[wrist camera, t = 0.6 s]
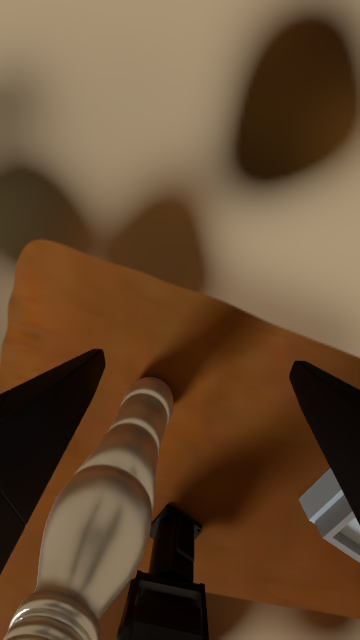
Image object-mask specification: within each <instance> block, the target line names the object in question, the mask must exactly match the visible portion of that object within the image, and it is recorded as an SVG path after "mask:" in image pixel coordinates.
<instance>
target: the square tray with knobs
mask: <svg viewBox="0 0 360 640" xmlns="http://www.w3.org/2000/svg"><path fill="white" fill-rule="evenodd" d="M299 501H300V503H301V505H302V507H303V509H304V511H305V513H306V515H307V517H308V519H309V520H310V521H311V522H313V523H314V524H316V526H317V528H318V530H319V532H320V534H321V536H322V538H323V539H325V540H326V541H328V542H329V543H331V544H333V545H334V546H336V547H337V548H339V549H340V550H342V551H343V552H345V553H346V554H348V555H349V556H351V557H352V558H354V559H355V560H357V561H358V562H360V525H359V523H358V521H357V519H356V517H355V515H354V513H353V511H352V509H351V507H350V505H349V503H348V501H347V499H346V497H345V495H344V493H343V491H342V489H341V487H340V485H339V483H338V482H337V480H336V478H335V476H334V474H333V472H332V470H331V468H329V469H328V470H327V471H326V472H325V473H324V474H323V475H322V476H321V477H320V478H319V479H318V480H317V481H316V482H315V483H314V484H313V485H312V486H311V487H310V488H309V489H308V490H307V491H306V492H305V493H304V494H303V495H302V496H301V497H300V498H299Z"/></svg>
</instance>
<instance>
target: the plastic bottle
mask: <svg viewBox="0 0 360 640" xmlns="http://www.w3.org/2000/svg"><path fill="white" fill-rule="evenodd" d="M172 413H173V395H172V392H171V390H170V388H169V387H168V385H167V384H166V383H165V382H163V381H162V380H160V379H158V378H155V377H144V378H141V379H139V380H138V381H136V382H135V383H134V384H133V385H131V386H130V388H129V389H128V390H127V392H126V393H125V396H124V398H123V401H122V403H121V407H120V409H119V412H118V414H117V416H116V418H115V420H114V422H113V424H112V426H111V427H110V429H109V430H108V432H107V433H106V434H105V436H104V437H103V439H102V440H101V442H100V443H99V445H98V446H97V447H96V449H95V450H94V451H93V452H92V453H91V455H90V456H89V457H88V458H87V459H86V461H85V462H84V463H83V464H82V465H81V467H80V468H79V469H78V470H77V471H76V473H75V474H74V475H73V476H72V478H71V479H70V480H69V481H68V482H67V484H66V485H65V486H64V488H63V489H62V490H61V492H60V493H59V495H58V496H57V498H56V499H55V501H54V504H53V506H52V509H51V511H50V514H49V516H48V519H47V522H46V525H45V529H44V534H43V540H42V545H41V550H40V559H39V569H38V579H37V587H36V589H35V592H34V593H32V594H30V595H28V596H27V597H26V598H25V599H24V600H23V601H22V603H21V604H20V606H19V608H18V610H17V611H16V613H15V615H14V617H13V618H12V620H11V622H10V626H9V631H8V632H7V634H6V636H5V638H4V640H100V637H101V628H100V625H99V620H100V617H101V615H102V614H103V613H104V612H105V610H106V609H107V608H108V607H109V605H110V604H111V603H112V602H113V601H114V599H115V598H116V597H117V596H118V594H119V593H120V592H121V591H122V589H123V588H124V587H125V585H126V584H127V582H128V581H129V579H130V578H131V576H132V575H133V574H134V572H135V571H136V569H137V568H138V565H139V563H140V561H141V559H142V556H143V554H144V551H145V549H146V546H147V544H148V541H149V536H150V530H151V522H152V511H153V500H154V486H155V473H156V467H157V461H158V455H159V449H160V445H161V442H162V439H163V435H164V432H165V429H166V427H167V425H168V423H169V421H170V418H171V416H172Z"/></svg>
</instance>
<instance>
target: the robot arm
mask: <svg viewBox="0 0 360 640" xmlns="http://www.w3.org/2000/svg"><path fill="white" fill-rule="evenodd" d="M104 369H105V358H104V352H103V350H102V349H92V350H90V351H88V352H86V353H84V354H82V355H80V356H77V357H75V358H73V359H71V360H69V361H67V362H65V363H63V364H61V365H59V366H57V367H55V368H53V369H51V370H49V371H47V372H45V373H43V374H41V375H38V376H36V377H34V378H32V379H30V380H28V381H26V382H24V383H22V384H20V385H18V386H16V387H14V388H12V389H11V390H8V391H6V392H3V393H1V394H0V574H1V572H2V571H3V569H4V567H5V565H6V563H7V561H8V559H9V557H10V555H11V553H12V551H13V550H14V548H15V546H16V544H17V542H18V540H19V538H20V536H21V534H22V532H23V531H24V529H25V525H26V524H27V523H28V521H29V519H30V517H31V515H32V513H33V511H34V509H35V507H36V505H37V503H38V502H39V500H40V498H41V496H42V494H43V492H44V490H45V488H46V486H47V484H48V483H49V481H50V479H51V477H52V475H53V473H54V471H55V469H56V467H57V465H58V463H59V462H60V460H61V458H62V456H63V454H64V452H65V450H66V448H67V446H68V444H69V442H70V441H71V439H72V437H73V435H74V433H75V431H76V429H77V427H78V425H79V423H80V422H81V420H82V418H83V416H84V414H85V412H86V410H87V408H88V406H89V404H90V402H91V401H92V398H93V396H94V394H95V392H96V389H97V387H98V384H99V382H100V379H101V377H102V374H103V371H104ZM289 378H290V381H291V384H292V386H293V389H294V392H295V394H296V397H297V399H298V402H299V405H300V407H301V410H302V412H303V414H304V416H305V418H306V420H307V422H308V424H309V426H310V428H311V430H312V432H313V434H314V436H315V438H316V440H317V442H318V444H319V446H320V448H321V450H322V452H323V454H324V456H325V458H326V460H327V462H328V464H329V466H330V468H331V470H332V472H333V474H334V476H335V478H336V480H337V482H338V483H339V485H340V487H341V489H342V491H343V493H344V495H345V497H346V499H347V501H348V503H349V505H350V507H351V509H352V511H353V513H354V515H355V517H356V519H357V521H358V523H359V525H360V390H359V389H357V388H355V387H353V386H352V385H350V384H348V383H346V382H344V381H342V380H340V379H338V378H337V377H335V376H333V375H331V374H329V373H327V372H325V371H323V370H322V369H320V368H318V367H316V366H314V365H312V364H310V363H308V362H306V361H298V360H297V361H295V362H294V363H293V366H292V369H291V372H290V375H289ZM201 532H202V526H201V525H199V524H198V523H196V522H195V521H193V520H192V519H190V518H189V517H187V516H186V515H184V514H183V513H181V512H180V511H178V510H177V509H175V508H173V507H172V506H170V505H167V506H166V507H165V508H164V510H163V511H162V512H161V513H160V514H159V516H158V517H157V518H156V519H155V520H154V521H153V523H152V524H151V530H150V537H151V538H153V539H154V542H153V548H152V554H151V560H150V567H149V573H143V572H142V571H140V570H137V575H136V577H135V578H134V579H132V580H131V583H130V588H129V592H128V597H127V601H126V605H125V608H124V612H123V616H122V619H121V623H120V626H119V629H118V634H117V640H209V635H208V623H207V609H206V597H205V585H204V584H202V583H200V584H196V583H193V562H194V540H195V539H196V538H197V536H198V535H199V534H200V533H201Z"/></svg>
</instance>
